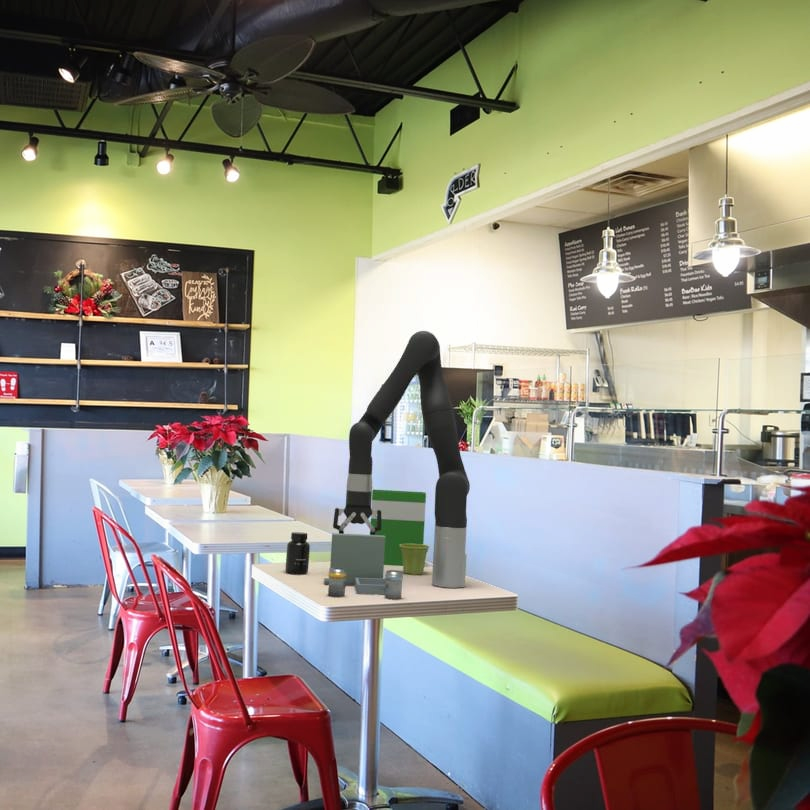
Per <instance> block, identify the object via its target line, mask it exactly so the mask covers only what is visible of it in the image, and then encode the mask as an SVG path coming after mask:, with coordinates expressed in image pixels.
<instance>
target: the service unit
mask: <svg viewBox="0 0 810 810" xmlns="http://www.w3.org/2000/svg"><path fill="white" fill-rule="evenodd" d="M384 552H385V536H384V535H370V534H362V533H361V534H359V533H357V534H356V533H344V534H339V532H337V533H336V532H335V533H334V532H332V533H331V545H330V563H329V564H330V565H329V569H330V568H344V569H346V582H345V587H346V586H348V587H349V586H350V587H355V578H378V579H384V570H385V569H384V566H385V565H384ZM323 585H325V586H329V577H328V578H327V577H326V578H323Z"/></svg>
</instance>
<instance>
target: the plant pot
mask: <svg viewBox="0 0 810 810" xmlns="http://www.w3.org/2000/svg"><path fill="white" fill-rule="evenodd" d="M399 546H400V547H401V551H402V559H403V566H402V569H403V571H402V572H403V573H404V574H409V575H420V574H421V575H423V574H424V569H425V563H426V557H427V553H428V551H429V549H430V545H428V544H423V545H422V544H400V545H399Z"/></svg>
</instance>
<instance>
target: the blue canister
mask: <svg viewBox="0 0 810 810" xmlns="http://www.w3.org/2000/svg"><path fill="white" fill-rule="evenodd" d="M403 573H404V571H401V570H396V569H395V570H393V569H391V570H389V569H388V570H386V571H385V578H384V579H386V584H385V595H384V599H386V600H391V599H392V601H394V600H396V601H399V600H401V599H402V594H403V593H402V591H403V579H404V574H403ZM398 599H399V600H398Z"/></svg>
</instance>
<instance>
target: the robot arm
mask: <svg viewBox="0 0 810 810" xmlns="http://www.w3.org/2000/svg"><path fill="white" fill-rule="evenodd" d="M440 346H441V345H440V342H439V340H438V338H437V337H436V335H434V334H433V332H430V331H428V330H420V331H417V332H415V333H413V334H412V335H411V336H410V338H409V340H408V341H407V345H406V346H405V349H404V351H403V353H402V355H401V357H400V359H399V361H397V363H396V365H395V366H394V369H393V370H392V372H391V373H390V374H389V376H388V377H387V378H386V380H385V381H384V383H383V384H382V385H381V386H380V388H379V389H378V391H377V392H376V394H375V395H374V396H373V397H372V400H370V402H369V404H368V405H367V408H366V411H365V412H364V414H363V415H362V416H361V418H360V419H359V420H358V422H355V423H354V424H352V425H351V427H350V429H349V435H348V446H349V447H348V449H349V451H348V452H349V460H348V474H347V480H346V493H345V507H344V508H339V507H335V508H334V514H333V523H332V527H333V529H335V530H337V531H338V534H345V531H344V530H345V528H346V527H347V526H348V525H349V524H350V523H351V524H353V525H355V524H359V525H363V524H366V525H367V527H368V528H369V535H375V532H376V531H379V530H381V511H380V510H372V509H371V507H372V491H373V456H372V452H373V451H372V449H373V442H374V440H375V438H376V437H377V435H378V434H379V432H380V430H381V429H382V427H383V425H384V423H385V422H386V421H387V420H388V419H389V418H390V416H391V414H393V412H394V410H395V409H396V407H398V405H399V403H400V401H401V400H402V398H403V396H404V394H405V393H406V391H407V389H408V387H409V385H410V384H411V382H412V381H413V379H414V377H416V375H417V377H418V381H419V393H420V395H419V397H420V410H421V415H422V420H423V425H424V429H425V432H426V435H427V438H428V441H429V443H430V445H431V447H432V449H433V453H434V456H435V458H436V463H437V469H438V479H437V480H436V483H435V490H434V491H435V492H434V536H433V537H434V539H433V555H432V556H433V558H432V559H433V560H432V574H431V585H433V586H435V587H439V588H441V587H442V588H451V589H454V588H455V589H456V588H457V589H458V588H466V587H465V586H466V574H467V573H466V571H467V554H466V547H467V546H466V544H467V523H468V518H467V504H468V503H467V499H468V494H469V493H470V486H471V484H470V481H469V477H468V475H467V471H466V469H465V465H464V462H463V459H462V456H461V451H460V442H459V436H458V430H457V422H456V418H455V414H454V408H453V404H452V401H451V400H452V399H451V397H450V393H449V391H448V387H447V385H446V382H445V378H444V375H443V374H444V373H443V368H442V360H441V359H442V358H441V357H442V356H441V347H440ZM342 514H344V515H345V517H346V518H345V519H344V520H343V522H342V523H341V524H340V525H339V523H338V522H339V517H340V516H342ZM372 514H374V516H375V517H376V518H377V526H376V527H373V526H372V524H371V520H369V519H370V518H371V515H372ZM370 530H371V532H370Z"/></svg>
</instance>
